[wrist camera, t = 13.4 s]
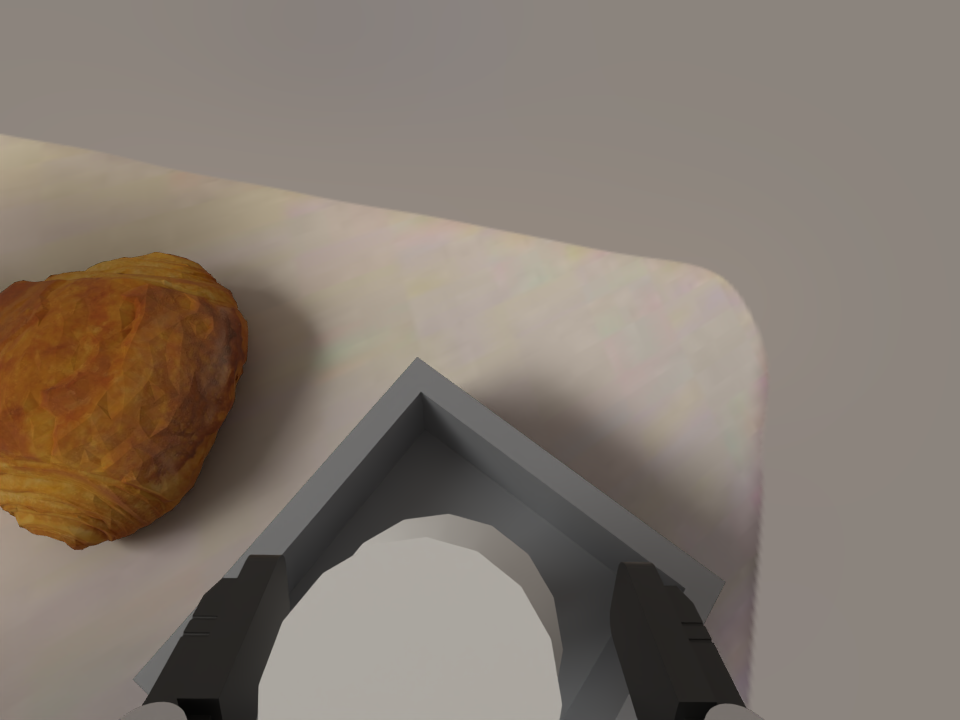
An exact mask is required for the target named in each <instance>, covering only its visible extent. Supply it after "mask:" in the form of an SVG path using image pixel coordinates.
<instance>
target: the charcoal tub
mask: <svg viewBox="0 0 960 720" xmlns="http://www.w3.org/2000/svg"><path fill="white" fill-rule="evenodd" d="M443 514H451V515H455V516H459V517H462V518H466V519H470V520H473V521H477V522H480V523H484V524H488V525H491V526H493V527H494V528H495V529H497V530H498V531H499V532H501V533H502V534H503V535H504V536H506V537H507V538H508V539H509V540H511V541H512V542H513V543H515V544H516V545H517V546H518V547H520V548H521V549H522V550H523V551H525V552H526V553H527V554H529V556H530V558H531V560H532V561H533V563H534V565H535V566H536V568H537V570H538V572H539V573H540V575H541V577H542V578H543V580H544V582H545V584H546V585H547V587H548V589H549V590H550V592H551V594H552V595H553V597H554V602H555V608H556V614H557V619H558V625H559V631H560V636H561V642H562V648H563V652H562V658H561V664H560V669H559V675H558V683H559V689H560V695H561V701H562V708H561V714H560V720H637V717H636V713H635V710H634V707H633V704H632V700H631V697H630V694H629V691H628V687H627V684H626V681H625V678H624V674H623V671H622V668H621V664H620V661H619V658H618V655H617V651H616V648H615V645H614V642H613V638H612V634H611V628H610V608H611V602H612V597H613V592H614V586H615V581H616V575H617V570H618V566H619V564H620V562H651V563H653V564H654V565H655V567H656V569H657V571H658V573H659V575H660V578H661V580H662V582H663V584H664V585H666V586H677V587H678V588H679V589H680V590H681V591H682V592H683V593H684V594H685V595H686V596H687V597H688V598H689V599H690V600H691V601H692V602H693V603H694V605H695V607H696V609H697V611H698V613H699V615H700V617H701V619H702V621H703V625H704V623H705V621H706V619H707V617H708V615H709V613H710V611H711V609H712V607H713V605H714V603H715V602H716V600H717V598H718V596H719V594H720V592H721V590H722V588H723V586H724V584H725V581H723V580H722V579H721V578H719V577H718V576H716V575H715V574H714V573H712V572H711V571H710V570H708V569H707V568H706V567H704V566H703V565H701V564H700V563H699V562H697V561H696V560H695V559H693V558H692V557H690V556H689V555H688V554H686V553H685V552H684V551H682V550H681V549H680V548H678V547H677V546H675V545H674V544H673V543H671V542H670V541H669V540H667V539H666V538H664V537H663V536H662V535H660V534H659V533H658V532H656V531H655V530H653V529H652V528H651V527H649V526H648V525H647V524H645V523H644V522H643V521H641V520H640V519H638V518H637V517H636V516H634V515H633V514H632V513H630V512H629V511H627V510H626V509H625V508H623V507H622V506H621V505H619V504H618V503H617V502H615V501H614V500H612V499H611V498H610V497H608V496H607V495H606V494H604V493H603V492H601V491H600V490H599V489H597V488H596V487H595V486H593V485H592V484H591V483H589V482H588V481H586V480H585V479H584V478H582V477H581V476H580V475H578V474H577V473H575V472H574V471H573V470H571V469H570V468H569V467H567V466H566V465H565V464H563V463H562V462H560V461H559V460H558V459H556V458H555V457H554V456H552V455H551V454H549V453H548V452H547V451H545V450H544V449H543V448H541V447H540V446H538V445H537V444H536V443H534V442H533V441H532V440H530V439H529V438H528V437H526V436H525V435H523V434H522V433H521V432H519V431H518V430H517V429H515V428H514V427H512V426H511V425H510V424H508V423H507V422H506V421H504V420H503V419H502V418H500V417H499V416H497V415H496V414H495V413H493V412H492V411H491V410H489V409H488V408H486V407H485V406H484V405H482V404H481V403H480V402H478V401H477V400H476V399H474V398H473V397H471V396H470V395H469V394H467V393H466V392H465V391H463V390H462V389H460V388H459V387H458V386H456V385H455V384H454V383H452V382H451V381H449V380H448V379H447V378H445V377H444V376H443V375H441V374H440V373H439V372H437V371H436V370H434V369H433V368H432V367H430V366H429V365H428V364H426V363H425V362H423V361H422V360H421V359H419V358H418V357H417V358H416V359H415V360H414V361H413V362H412V363H411V364H410V366H409V367H408V368H407V369H406V370H405V371H404V372H403V374H402V375H401V376H400V377H399V378H398V379H397V380H396V381H395V383H394V384H393V385H392V386H391V387H390V388H389V389H388V391H387V392H386V393H385V394H384V395H383V396H382V397H381V399H380V400H379V401H378V402H377V403H376V404H375V405H374V406H373V408H372V409H371V410H370V411H369V412H368V413H367V414H366V416H365V417H364V418H363V419H362V420H361V421H360V422H359V423H358V425H357V426H356V427H355V428H354V429H353V430H352V431H351V433H350V434H349V435H348V436H347V437H346V438H345V439H344V440H343V442H342V443H341V444H340V445H339V446H338V447H337V448H336V450H335V451H334V452H333V453H332V454H331V455H330V456H329V457H328V459H327V460H326V461H325V462H324V463H323V464H322V465H321V467H320V468H319V469H318V470H317V471H316V472H315V473H314V475H313V476H312V477H311V478H310V479H309V480H308V481H307V482H306V484H305V485H304V486H303V487H302V488H301V489H300V490H299V492H298V493H297V494H296V495H295V496H294V497H293V498H292V499H291V501H290V502H289V503H288V504H287V505H286V506H285V507H284V509H283V510H282V511H281V512H280V513H279V514H278V515H277V516H276V518H275V519H274V520H273V521H272V522H271V523H270V524H269V526H268V527H267V528H266V529H265V530H264V531H263V532H262V533H261V535H260V536H259V537H258V538H257V539H256V540H255V541H254V543H253V544H252V545H251V546H250V547H249V548H248V549H247V551H246V552H245V553H244V554H243V555H242V556H241V557H240V558H239V560H238V561H237V562H236V563H235V564H234V565H233V566H232V568H231V569H230V570H229V571H228V572H227V573H226V574H225V575H224V577H223V578H237V577H238V575H239V573H240V571H241V569H242V567H243V565H244V563H245V561H246V559H247V558H248V556H249V555H251V554H252V555H283V556H284V557H285V561H286V570H287V580H288V590H289V600H290V612H291V611H292V610H293V608H294V607H295V606H296V605H297V604H298V602H299V601H300V600H301V599H302V598H303V596H304V595H305V594H306V593H307V592H308V590H309V589H310V588H311V587H312V585H313V584H314V583H315V582H316V581H317V579H318V578H319V577H320V576H321V575H322V573H324V572H326V571H327V570H329V569H331V568H333V567H334V566H336V565H338V564H339V563H341V562H343V561H345V560H346V559H348V558H350V557H352V556H353V555H354V554H355V552H356V551H357V550H358V549H359V547H360V546H361V545H362V544H363V543H364V542H366V541H368V540H369V539H371V538H373V537H375V536H376V535H378V534H380V533H382V532H383V531H385V530H387V529H389V528H390V527H392V526H394V525H396V524H397V523H399V522H401V521H403V520H405V519H413V518H421V517H428V516H436V515H443ZM196 608H197V607H196ZM196 608H195V609H194V611H193V612H192V613H191V614H190V615H189V616H188V617H187V619H186V620H185V621H184V622H183V623H182V624H181V625H180V626H179V628H178V629H177V630H176V631H175V632H174V633H173V634H172V636H171V637H170V638H169V639H168V640H167V641H166V642H165V644H164V645H163V646H162V647H161V648H160V649H159V650H158V651H157V653H156V654H155V655H154V656H153V657H152V658H151V659H150V661H149V662H148V663H147V664H146V665H145V666H144V667H143V668H142V670H141V671H140V672H139V673H138V674H137V675H136V676H135V678H134V679H133V680H134V681H135V682H136V683H137V684H138V685H139V686H140V687H141V688H142V689H143V690H144V691H145V692H146V693H147V694H148V695H149V693H150V691H151V689H152V687H153V686H154V684H155V682H156V680H157V678H158V677H159V675H160V673H161V671H162V669H163V668H164V666H165V664H166V662H167V660H168V659H169V657H170V655H171V653H172V651H173V650H174V648H175V646H176V644H177V642H178V641H179V639H180V637H182V636H183V632H184V630H185V628H186V626H187V624H188V623H189V621H190V620H192V617H193V616H192V615H193V614H194V612H195V610H196ZM256 720H258V715H257V718H256Z"/></svg>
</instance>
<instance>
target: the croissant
mask: <svg viewBox="0 0 960 720" xmlns="http://www.w3.org/2000/svg"><path fill="white" fill-rule="evenodd" d="M247 351H248V326H247V321H246V320H245V319H244V318H243V316H242V314H241V313H240V312H239V310H238V307H237V303H236V301H235V300H234V298H233V296H232V293H231V291H230V290H228V289H227V288H225V287H223V286H221V285H220V284H219V283H217V282H216V279H214V278H213V277H212V276H211V274H209V273H208V272H207V271H206V270H205V269H203V268H202V267H201V266H200V265H199V264H198V263H195V262H193V261H190V260H188V259H186V258H183V257H179V256H175V255H171V254H164V253H159V252H154V253H151V254H147V255H143V256H138V257H133V258H127V257H123V258H119V259H115V260H111V261H104V262H101V263H98V264H96V265H94V266H92V267H90V268H88V269H87V270H86V271H76V272H68V273H62V274H58V275H51V276H49V277H48V278H47V279H46V280H45V281H40V282H29V281H24V280H22V281H18V282H14V283H13V284H12V285H10V286H9V287H8V288H6V289H5V290H4V291H3V292H1V293H0V506H1V508H2V509H3V510H5V511H7V512H9V513H10V515H12V516H15V517H16V519H17V522H18V524H19V526H20V527H22V528H25V529H27V530H28V531H30V532H31V533H33V534H36V535H43V536H48V537H51V538H54V539H57V540H60V541H63V542H65V543H66V544H67V545H68V546H70V547H71V548H72V549H74V550H83V549H84V548H86V547H88V546H92V545H97V544H99V543H102V542H104V541H107V540H109V541H113V540H116V539H120V538H122V537H126V536H129V535H131V534H133V533H135V532H136V531H137V530H138V529H140V528H143V527H145V526H148V525H150V524H151V523H152V522H154V521H155V520H156V519H157V518H160V517H161V516H163V515H164V514H165V513H167V512H169V511H171V510H172V509H173V508H174V507H175V506H176V505H178V504H179V503H180V501H181V499H182V497H183V496H184V495H185V494H186V493H187V492H188V491H189V490H190V489H191V488H192V487H193V486H194V484H195V482H196V480H197V478H198V475H199V473H200V471H201V468H202V465H203V462H204V459H205V458H206V457H207V455H208V453H209V451H210V450H211V448H212V446H213V444H214V442H215V439H216V435H217V432H218V429H219V428H220V427H221V425H222V423H223V422H224V420H225V418H226V417H227V414H228V412H229V411H230V410H231V408H232V406H233V403H234V400H235V388H236V384H237V382H238V380H239V378H240V376H241V375H242V373H243V364H245V362H246V360H247Z"/></svg>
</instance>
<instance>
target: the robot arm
mask: <svg viewBox="0 0 960 720" xmlns="http://www.w3.org/2000/svg"><path fill="white" fill-rule="evenodd" d="M289 613H290V600H289V590H288V580H287V570H286V561H285V557H284V556H283V555H252V554H251V555H249V556H248V558H247V559H246V561H245V563H244V565H243V567H242V569H241V571H240V573H239V575H238V577H237V578H222V579H221V580H220V581H219V582H218V583H217V584H216V585H214V586H213V587H212V588H211V589H210V590H209V591H208V592H207V593H206V594H205V595H204V596H203V597H202V599H201V601H200V603H199V605H198V606H197V608H196V610H195V612H194V614H193V615H192V616H193V617H192V620H190V621H189V623H188V624H187V626H186V628H185V630H184V632H183V636H182V637H180V639H179V641H178V642H177V644H176V646H175V648H174V650H173V651H172V653H171V655H170V657H169V659H168V660H167V662H166V664H165V666H164V668H163V669H162V671H161V673H160V675H159V677H158V678H157V680H156V682H155V684H154V686H153V687H152V689H151V691H150V693H149V695H148V696H147V698H146V700H145V702H144V703H143V705H142V706H141V707H139V708H136V709H134V710H133V711H131V712H129V713H127V714H126V715H125V716H123V717H122V718H120V719H119V720H256V718H257V715H258V690H259V683H260V680H261V678H262V675H263V672H264V670H265V667H266V664H267V662H268V659H269V656H270V654H271V651H272V648H273V646H274V643H275V640H276V638H277V635H278V632H279V630H280V627H281V624H282V622H283V620H284V619H285V618H286V617H287V616H288V614H289ZM610 628H611V634H612V638H613V642H614V645H615V648H616V651H617V655H618V658H619V661H620V664H621V668H622V671H623V674H624V678H625V681H626V684H627V687H628V691H629V694H630V697H631V700H632V704H633V707H634V710H635V713H636V717H637V720H764V719H762V718H761V717H760V716H759V715H757V714H755V713H754V712H753V711H751V710H749V709H747V708H746V706H745V704H744V703H743V701H742V699H741V697H740V695H739V693H738V691H737V689H736V687H735V685H734V683H733V681H732V679H731V677H730V675H729V673H728V671H727V669H726V667H725V665H724V663H723V661H722V659H721V657H720V655H719V653H718V651H717V649H716V647H715V645H714V643H712V642H711V637H710V635H709V633H708V631H707V629H706V627H705V626H703V621H702V619H701V617H700V615H699V613H698V611H697V609H696V607H695V605H694V603H693V602H692V601H691V600H690V599H689V598H688V597H687V596H686V595H685V594H684V593H683V592H682V591H681V590H680V589H679V588H678V587H677V586H666V585H664V584H663V582H662V580H661V578H660V575H659V573H658V571H657V569H656V567H655V565H654V564H653V563H651V562H620V564H619V566H618V570H617V575H616V581H615V586H614V592H613V597H612V602H611V608H610Z"/></svg>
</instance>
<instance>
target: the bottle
mask: <svg viewBox="0 0 960 720" xmlns="http://www.w3.org/2000/svg"><path fill="white" fill-rule="evenodd" d="M562 652H563V648H562V642H561V636H560V631H559V625H558V619H557V614H556V608H555V602H554V597H553V595H552V594H551V592H550V590H549V589H548V587H547V585H546V584H545V582H544V580H543V578H542V577H541V575H540V573H539V572H538V570H537V568H536V566H535V565H534V563H533V561H532V560H531V558H530V556H529V554H527V553H526V552H525V551H523V550H522V549H521V548H520V547H518V546H517V545H516V544H515V543H513V542H512V541H511V540H509V539H508V538H507V537H506V536H504V535H503V534H502V533H501V532H499V531H498V530H497V529H495V528H494V527H493V526H491V525H488V524H484V523H480V522H477V521H473V520H470V519H466V518H462V517H459V516H455V515H451V514H443V515H436V516H428V517H421V518H413V519H405V520H403V521H401V522H399V523H397V524H396V525H394V526H392V527H390V528H389V529H387V530H385V531H383V532H382V533H380V534H378V535H376V536H375V537H373V538H371V539H369V540H368V541H366V542H364V543H363V544H362V545H361V546H360V547H359V549H358V550H357V551H356V552H355V554H354V555H353V556H352V557H350V558H348V559H346V560H345V561H343V562H341V563H339V564H338V565H336V566H334V567H333V568H331V569H329V570H327V571H326V572H324V573H322V575H321V576H320V577H319V578H318V579H317V581H316V582H315V583H314V584H313V585H312V587H311V588H310V589H309V590H308V592H307V593H306V594H305V595H304V596H303V598H302V599H301V600H300V601H299V602H298V604H297V605H296V606H295V607H294V608H293V610H292V611H291V612H290V613H289V614H288V616H287V617H286V618H285V619H284V620H283V622H282V624H281V627H280V630H279V632H278V635H277V638H276V640H275V643H274V646H273V648H272V651H271V654H270V656H269V659H268V662H267V664H266V667H265V670H264V672H263V675H262V678H261V680H260V683H259V690H258V720H560V714H561V708H562V701H561V695H560V689H559V683H558V675H559V669H560V664H561V658H562Z"/></svg>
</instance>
